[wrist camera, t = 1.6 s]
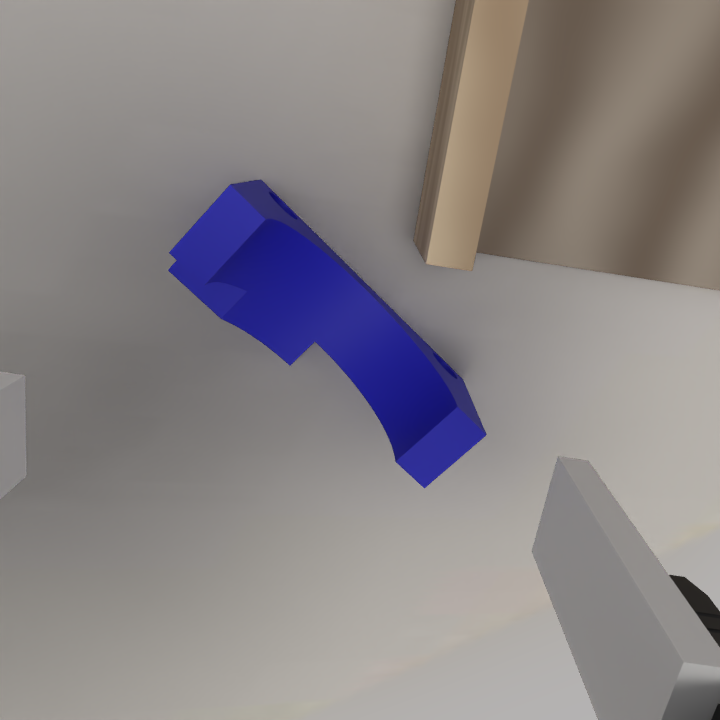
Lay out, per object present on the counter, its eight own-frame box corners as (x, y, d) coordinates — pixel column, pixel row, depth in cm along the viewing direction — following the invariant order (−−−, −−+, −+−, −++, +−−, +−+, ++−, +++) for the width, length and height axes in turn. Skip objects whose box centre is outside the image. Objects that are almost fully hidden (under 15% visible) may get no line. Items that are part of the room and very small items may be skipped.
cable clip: (189, 258, 26) (139, 285, 20) (261, 179, 25) (230, 184, 19) (389, 443, 29) (394, 513, 23) (462, 378, 28) (486, 434, 22)
